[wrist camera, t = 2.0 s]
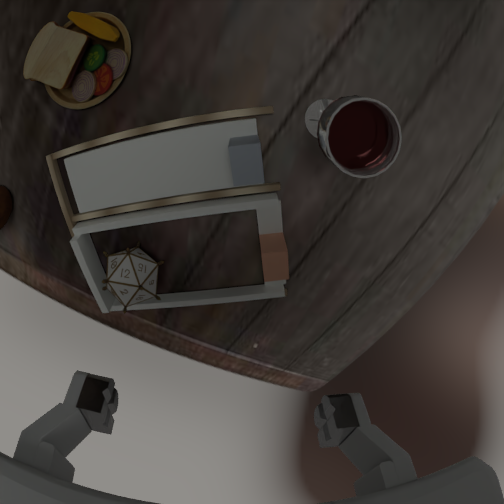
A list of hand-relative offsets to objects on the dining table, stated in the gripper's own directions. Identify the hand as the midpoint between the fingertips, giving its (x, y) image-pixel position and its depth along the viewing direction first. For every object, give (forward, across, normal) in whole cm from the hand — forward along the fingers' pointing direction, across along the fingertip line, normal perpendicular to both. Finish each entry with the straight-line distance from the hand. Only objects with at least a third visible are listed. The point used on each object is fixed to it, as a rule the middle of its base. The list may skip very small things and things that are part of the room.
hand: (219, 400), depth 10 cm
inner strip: (+28, +8, -1) cm, 30 cm away
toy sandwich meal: (+29, +20, -14) cm, 38 cm away
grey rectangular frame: (+29, +5, +11) cm, 31 cm away
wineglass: (+28, -10, -9) cm, 31 cm away
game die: (+29, +11, +13) cm, 34 cm away
